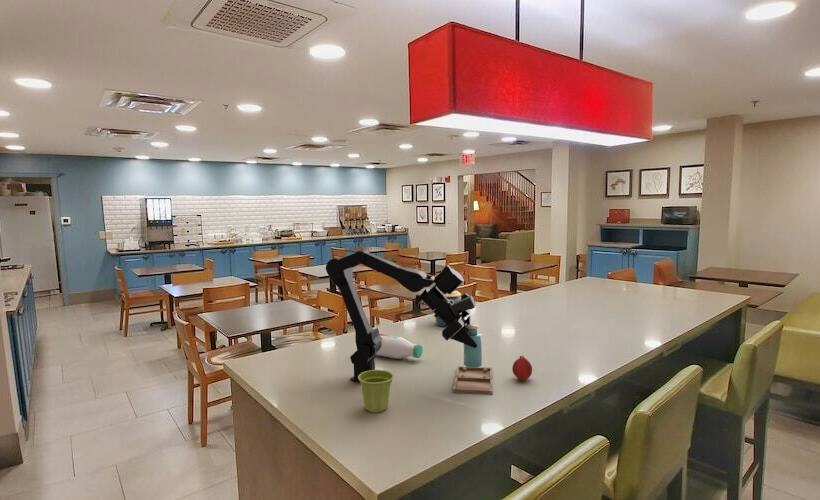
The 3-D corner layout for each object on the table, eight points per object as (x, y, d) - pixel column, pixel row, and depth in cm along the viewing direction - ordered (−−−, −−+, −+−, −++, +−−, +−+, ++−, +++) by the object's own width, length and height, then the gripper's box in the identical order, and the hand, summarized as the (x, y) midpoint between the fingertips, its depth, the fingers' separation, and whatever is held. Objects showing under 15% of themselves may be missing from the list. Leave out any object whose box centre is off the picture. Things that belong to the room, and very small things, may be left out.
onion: (517, 376, 137) (517, 351, 137) (535, 380, 134) (535, 354, 133) (509, 381, 133) (509, 355, 132) (527, 386, 129) (527, 359, 128)
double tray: (492, 396, 123) (492, 390, 122) (453, 393, 125) (453, 388, 124) (492, 372, 141) (492, 366, 141) (457, 370, 143) (457, 365, 143)
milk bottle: (370, 358, 161) (418, 367, 152) (363, 343, 157) (412, 352, 148) (380, 342, 167) (427, 350, 157) (373, 328, 163) (421, 335, 153)
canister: (431, 322, 208) (430, 285, 207) (456, 319, 212) (456, 283, 211) (441, 328, 196) (441, 289, 195) (468, 326, 200) (467, 287, 198)
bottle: (473, 368, 124) (473, 328, 123) (460, 364, 128) (459, 325, 127) (485, 364, 128) (485, 325, 127) (471, 360, 132) (471, 322, 131)
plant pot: (394, 399, 121) (393, 369, 121) (394, 415, 112) (393, 382, 111) (360, 400, 121) (359, 370, 120) (357, 416, 112) (356, 383, 111)
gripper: (453, 291, 118) (495, 334, 116) (463, 281, 136) (499, 318, 134) (425, 319, 121) (465, 361, 119) (438, 305, 139) (473, 342, 137)
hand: (477, 344), depth 127 cm, fingers closed on bottle, 5 cm apart
